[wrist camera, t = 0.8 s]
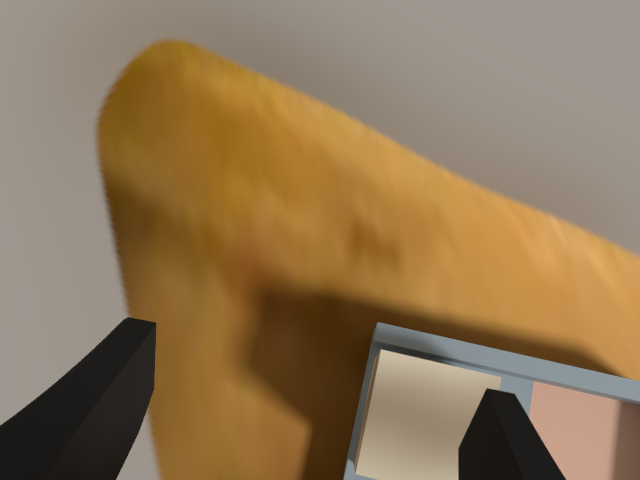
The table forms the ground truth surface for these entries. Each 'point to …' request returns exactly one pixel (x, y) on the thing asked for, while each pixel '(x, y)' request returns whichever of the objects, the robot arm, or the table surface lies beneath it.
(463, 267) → the table surface
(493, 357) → the trap box
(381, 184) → the table surface
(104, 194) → the table surface
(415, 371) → the beech block
